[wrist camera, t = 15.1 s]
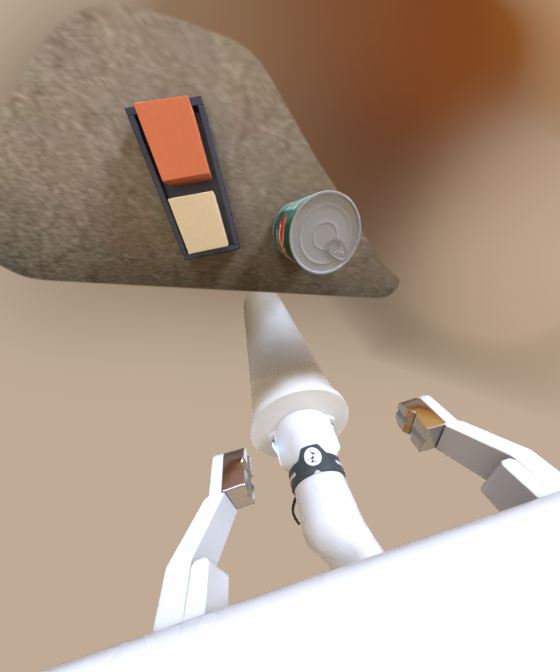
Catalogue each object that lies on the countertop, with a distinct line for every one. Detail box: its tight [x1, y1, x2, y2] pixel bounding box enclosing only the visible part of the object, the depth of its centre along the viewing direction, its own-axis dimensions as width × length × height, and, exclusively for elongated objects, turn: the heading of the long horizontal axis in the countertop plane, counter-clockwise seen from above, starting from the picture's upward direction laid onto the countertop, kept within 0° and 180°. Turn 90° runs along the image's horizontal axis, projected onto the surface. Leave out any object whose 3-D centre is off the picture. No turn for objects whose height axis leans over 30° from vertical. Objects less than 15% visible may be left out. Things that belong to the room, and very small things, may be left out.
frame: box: [125, 96, 240, 260], centre depth 25 cm, size 15×8×2 cm, turn 10°
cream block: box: [168, 191, 229, 254], centre depth 25 cm, size 6×5×4 cm
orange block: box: [133, 96, 213, 187], centre depth 22 cm, size 6×5×4 cm
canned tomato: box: [273, 191, 361, 275], centre depth 26 cm, size 8×8×11 cm
